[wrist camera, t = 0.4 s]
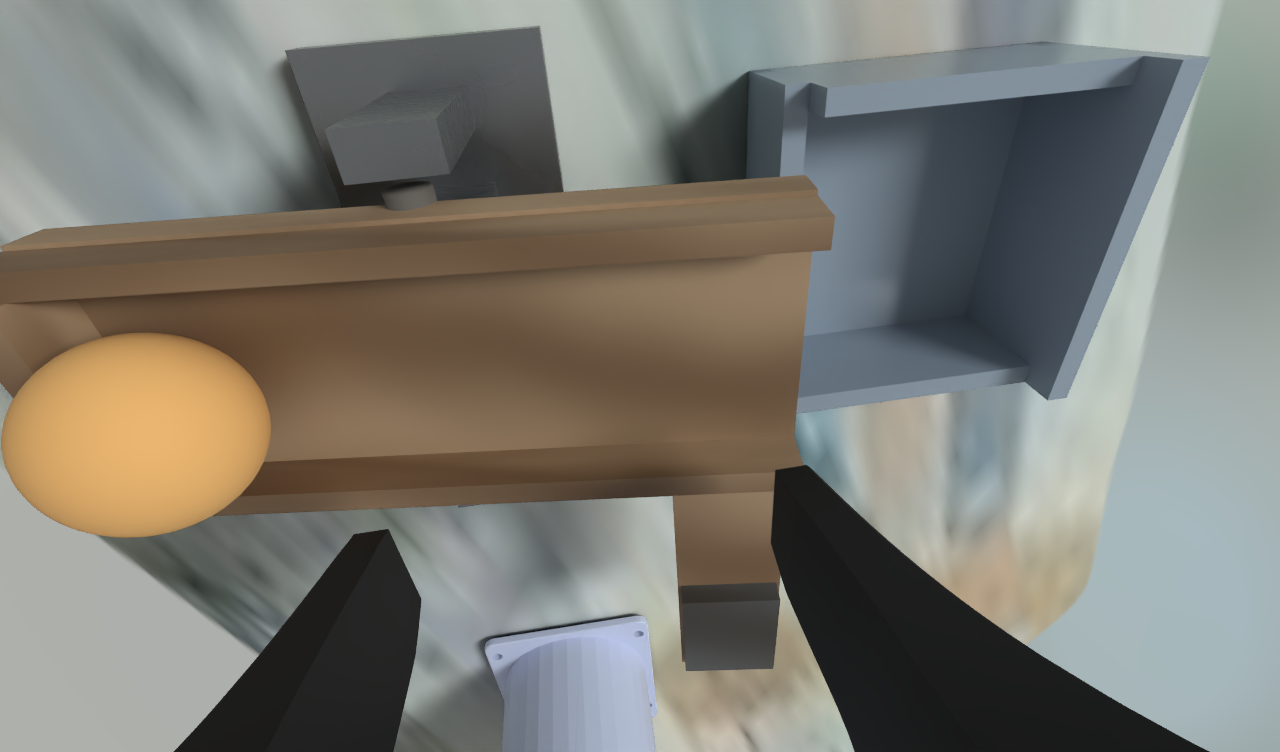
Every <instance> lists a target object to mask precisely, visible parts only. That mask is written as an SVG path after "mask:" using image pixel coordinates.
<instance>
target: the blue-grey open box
mask: <svg viewBox="0 0 1280 752" xmlns="http://www.w3.org/2000/svg"><path fill="white" fill-rule="evenodd" d="M1209 58H1210V57H1204V56H1193V55H1182V54H1171V53H1160V52H1150V51H1139V50H1128V49H1117V48H1106V47H1095V46H1085V45H1074V44H1063V43H1052V42H1036V43H1026V44H1016V45H1006V46H996V47H986V48H975V49H965V50H955V51H945V52H935V53H925V54H915V55H905V56H895V57H885V58H875V59H865V60H855V61H845V62H835V63H825V64H815V65H804V66H794V67H784V68H774V69H764V70H754V71H749V84H748V120H747V155H746V179H755V178H769V177H783V176H797V175H806V176H807V177H808V178H809V179H810V180H811V182H812V183H813V184H814V185H815V186H816V187H817V189H818V196H819V197H820V198H821V200H822V201H823V202H824V203H825V205H826V206H827V207H828V208H829V209H830V211H831V212H832V213H833V214H834V216H835V222H834V231H833V239H832V248H831V250H829V251H813V252H812V258H811V269H810V279H809V289H808V299H807V309H806V319H805V330H804V340H803V350H802V360H801V370H800V380H799V391H798V401H797V411H796V414H798V413H805V412H813V411H820V410H827V409H834V408H841V407H848V406H855V405H863V404H870V403H877V402H884V401H891V400H898V399H906V398H913V397H920V396H927V395H934V394H941V393H949V392H956V391H963V390H970V389H977V388H984V387H991V386H999V385H1006V384H1013V383H1020V382H1026V383H1027V384H1028V385H1029V386H1031V387H1032V388H1033V389H1034V390H1036V391H1037V392H1038V393H1039V394H1040V395H1042V396H1043V397H1044V398H1045V399H1047V400H1054V399H1061V398H1067V395H1068V393H1069V390H1070V388H1071V386H1072V383H1073V381H1074V379H1075V376H1076V374H1077V371H1078V369H1079V367H1080V364H1081V362H1082V360H1083V357H1084V355H1085V352H1086V350H1087V348H1088V345H1089V343H1090V341H1091V338H1092V336H1093V333H1094V331H1095V329H1096V326H1097V324H1098V322H1099V319H1100V317H1101V314H1102V312H1103V310H1104V307H1105V305H1106V303H1107V300H1108V298H1109V295H1110V293H1111V291H1112V288H1113V286H1114V283H1115V281H1116V279H1117V276H1118V274H1119V272H1120V269H1121V267H1122V264H1123V262H1124V260H1125V257H1126V255H1127V253H1128V250H1129V248H1130V245H1131V243H1132V241H1133V238H1134V236H1135V234H1136V231H1137V229H1138V226H1139V224H1140V222H1141V219H1142V217H1143V215H1144V212H1145V210H1146V207H1147V205H1148V203H1149V200H1150V198H1151V196H1152V193H1153V191H1154V188H1155V186H1156V184H1157V181H1158V179H1159V176H1160V174H1161V172H1162V169H1163V167H1164V165H1165V162H1166V160H1167V157H1168V155H1169V153H1170V150H1171V148H1172V146H1173V143H1174V141H1175V138H1176V136H1177V134H1178V131H1179V129H1180V127H1181V124H1182V122H1183V119H1184V117H1185V115H1186V112H1187V110H1188V108H1189V105H1190V103H1191V100H1192V98H1193V96H1194V93H1195V91H1196V89H1197V86H1198V84H1199V81H1200V79H1201V77H1202V74H1203V72H1204V70H1205V67H1206V65H1207V62H1208V60H1209Z"/></svg>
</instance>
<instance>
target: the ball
mask: <svg viewBox="0 0 1280 752" xmlns="http://www.w3.org/2000/svg"><path fill="white" fill-rule="evenodd" d="M270 437H271V420H270V413H269V410H268V406H267V403H266V399H265V397H264V395H263V393H262V391H261V389H260V388H259V386H258V385H257V383H256V382H255V380H254V379H253V378H252V376H251V375H250V374H249V373H248V372H247V371H246V370H245V369H244V368H243V367H242V366H241V365H240V364H239V363H238V362H236V361H235V360H234V359H232V358H231V357H230V356H228V355H227V354H225V353H223V352H222V351H220V350H218V349H216V348H214V347H212V346H210V345H207V344H205V343H202V342H200V341H196V340H193V339H190V338H186V337H183V336H178V335H172V334H163V333H151V332H142V333H125V334H118V335H112V336H108V337H103V338H99V339H96V340H92V341H89V342H86V343H84V344H81V345H78V346H76V347H74V348H72V349H70V350H67V351H66V352H64V353H62V354H60V355H58V356H56V357H55V358H53V359H52V360H50V361H49V362H48V363H46V364H45V365H44V366H43V367H41V368H40V369H39V370H37V371H36V372H35V373H34V374H33V375H32V376H31V377H30V378H29V379H28V380H27V381H26V382H25V384H24V385H23V386H22V387H21V388H20V390H19V391H18V393H17V394H16V396H15V397H14V399H13V401H12V403H11V405H10V407H9V409H8V411H7V414H6V417H5V420H4V424H3V430H2V439H1V443H2V453H3V459H4V463H5V467H6V469H7V471H8V473H9V475H10V477H11V480H12V482H13V483H14V485H15V487H16V488H17V490H18V491H19V492H20V493H21V494H22V495H23V497H24V498H26V500H27V501H28V502H29V503H31V505H32V506H34V507H35V508H36V509H37V510H39V511H40V512H41V513H43V514H44V515H46V516H47V517H49V518H51V519H53V520H54V521H56V522H58V523H60V524H63V525H65V526H68V527H70V528H73V529H76V530H79V531H83V532H86V533H91V534H96V535H101V536H108V537H120V538H123V537H147V536H154V535H160V534H165V533H170V532H174V531H177V530H180V529H183V528H186V527H189V526H192V525H194V524H196V523H199V522H201V521H203V520H205V519H207V518H209V517H211V516H213V515H214V514H216V513H217V512H219V511H221V510H222V509H224V508H225V507H226V506H228V505H229V504H230V503H231V502H233V501H234V500H235V499H236V498H237V497H238V496H240V495H241V494H242V493H243V491H244V490H245V489H246V488H247V487H248V486H249V485H250V483H251V482H252V481H253V480H254V478H255V477H256V475H257V473H258V472H259V470H260V468H261V466H262V464H263V462H264V460H265V457H266V455H267V451H268V448H269V443H270Z"/></svg>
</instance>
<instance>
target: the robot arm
mask: <svg viewBox="0 0 1280 752" xmlns="http://www.w3.org/2000/svg"><path fill="white" fill-rule="evenodd" d="M771 546H772V549H773V552H774V555H775V559H776V562H777V565H778V568H779V572H780V575H781V578H782V581H783V584H784V587H785V590H786V593H787V595H788V598H789V600H790V602H791V605H792V607H793V609H794V611H795V614H796V616H797V618H798V620H799V623H800V625H801V627H802V629H803V632H804V634H805V636H806V638H807V641H808V643H809V645H810V647H811V649H812V652H813V654H814V656H815V658H816V661H817V663H818V665H819V667H820V669H821V672H822V674H823V676H824V678H825V681H826V683H827V685H828V687H829V689H830V692H831V694H832V696H833V698H834V701H835V703H836V705H837V707H838V710H839V712H840V714H841V717H842V719H843V722H844V724H845V727H846V729H847V732H848V734H849V737H850V740H851V742H852V745H853V748H854V751H855V752H1209V751H1207V750H1205V749H1203V748H1201V747H1199V746H1197V745H1195V744H1193V743H1191V742H1189V741H1187V740H1186V739H1184V738H1182V737H1180V736H1178V735H1176V734H1175V733H1173V732H1171V731H1169V730H1167V729H1166V728H1164V727H1162V726H1160V725H1158V724H1156V723H1154V722H1153V721H1151V720H1149V719H1147V718H1145V717H1144V716H1142V715H1140V714H1138V713H1136V712H1135V711H1133V710H1131V709H1129V708H1127V707H1126V706H1123V705H1122V704H1120V703H1119V702H1117V701H1115V700H1114V699H1112V698H1110V697H1108V696H1107V695H1105V694H1103V693H1102V692H1100V691H1098V690H1097V689H1095V688H1094V687H1092V686H1090V685H1089V684H1087V683H1085V682H1084V681H1082V680H1080V679H1079V678H1077V677H1076V676H1074V675H1072V674H1070V673H1069V672H1067V671H1066V670H1064V669H1062V668H1061V667H1059V666H1058V665H1056V664H1054V663H1053V662H1051V661H1049V660H1048V659H1046V658H1044V657H1043V656H1041V655H1040V654H1038V653H1036V652H1035V651H1034V650H1032V649H1030V648H1029V647H1028V646H1026V645H1025V644H1023V643H1022V642H1020V641H1019V640H1017V639H1015V638H1014V637H1012V636H1011V635H1009V634H1008V633H1007V632H1005V631H1004V630H1002V629H1001V628H999V627H998V626H997V625H995V624H994V623H992V622H991V621H990V620H988V619H987V618H985V617H984V616H982V615H981V614H980V613H978V612H977V611H975V610H974V609H973V608H971V607H970V606H969V605H967V604H966V603H965V602H963V601H962V600H961V599H959V598H958V597H957V596H955V595H954V594H953V593H951V592H950V591H949V590H948V589H946V588H945V587H944V586H943V585H941V584H940V583H939V582H937V581H936V580H935V579H934V578H932V577H931V576H930V575H929V574H927V573H926V572H925V571H924V570H922V569H921V568H920V567H919V566H918V565H916V564H915V563H914V562H913V561H912V560H910V559H909V558H908V557H907V556H906V555H904V554H903V553H902V552H901V551H900V550H899V549H897V548H896V547H895V546H894V545H893V544H892V543H891V542H889V541H888V540H887V539H886V538H885V537H884V536H883V535H881V534H880V533H879V532H878V531H877V530H876V529H875V528H873V527H872V526H871V525H870V524H869V523H868V522H867V521H866V520H865V519H864V518H862V517H861V516H860V515H859V514H858V513H857V512H856V511H855V510H854V509H853V508H852V507H851V506H850V505H849V504H848V503H846V502H845V501H844V500H843V499H842V498H841V497H840V496H839V495H838V494H837V493H836V492H835V491H834V490H833V489H832V488H831V487H830V486H829V485H828V484H827V483H826V482H825V481H824V480H823V479H822V478H820V477H819V476H818V475H817V474H816V473H815V472H814V471H813V470H812V469H811V468H810V467H809V466H807V465H803V466H797V467H790V468H784V469H777V470H775V481H774V497H773V513H772V529H771ZM420 608H421V597H420V595H419V593H418V591H417V589H416V587H415V585H414V583H413V581H412V578H411V576H410V574H409V572H408V570H407V568H406V566H405V564H404V561H403V559H402V557H401V555H400V553H399V551H398V549H397V547H396V545H395V542H394V540H393V538H392V536H391V534H390V532H389V530H388V529H386V530H379V531H373V532H366V533H360V534H354V535H353V536H352V538H351V539H350V540H349V542H348V543H347V544H346V545H345V547H344V548H343V549H342V550H341V552H340V553H339V554H338V555H337V557H336V558H335V559H334V561H333V562H332V563H331V564H330V566H329V567H328V568H327V570H326V571H325V572H324V574H323V575H322V576H321V578H320V579H319V580H318V581H317V583H316V584H315V585H314V587H313V588H312V589H311V591H310V592H309V593H308V594H307V596H306V597H305V598H304V600H303V601H302V602H301V603H300V605H299V606H298V607H297V609H296V610H295V611H294V612H293V614H292V615H291V616H290V617H289V619H288V620H287V621H286V622H285V624H284V625H283V626H282V627H281V629H280V630H279V631H278V632H277V634H276V635H275V636H274V637H273V639H272V640H271V641H270V642H269V644H268V645H267V646H266V647H265V649H264V650H263V651H262V652H261V654H260V655H259V656H258V657H257V658H256V660H255V661H254V662H253V663H252V664H251V666H250V667H249V668H248V669H247V670H246V671H245V673H244V674H243V675H242V676H241V677H240V679H239V680H238V681H237V682H236V683H235V684H234V685H233V687H232V688H231V689H230V690H229V691H228V693H227V694H226V695H225V696H224V697H223V698H222V700H221V701H220V702H219V703H218V704H217V705H216V706H215V708H214V709H213V710H212V711H211V712H210V713H209V714H208V716H207V717H206V718H205V719H204V720H203V721H202V722H201V723H200V724H199V725H198V726H197V728H196V729H195V730H194V731H193V732H192V733H191V734H190V735H189V736H188V737H187V738H186V739H185V740H184V742H183V743H182V744H181V745H180V746H179V747H178V748H177V749H176V750H175V751H174V752H393V751H394V746H395V742H396V738H397V734H398V729H399V725H400V721H401V717H402V712H403V708H404V704H405V699H406V695H407V691H408V686H409V682H410V678H411V673H412V669H413V664H414V659H415V654H416V646H417V638H418V630H419V619H420ZM485 654H486V656H487V659H488V661H489V664H490V666H491V669H492V672H493V674H494V677H495V679H496V682H497V684H498V687H499V689H500V692H501V694H502V697H503V699H504V702H505V706H504V721H503V736H502V751H501V752H656V745H655V738H654V731H653V723H652V717H654V716H656V714H657V704H656V696H655V687H654V678H653V669H652V660H651V651H650V642H649V633H648V625H647V620H646V618H645V617H643V616H631V617H625V618H619V619H612V620H606V621H600V622H594V623H587V624H581V625H575V626H569V627H562V628H556V629H550V630H544V631H537V632H531V633H525V634H519V635H512V636H506V637H500V638H494V639H490V640H489V641H487V642H486V644H485Z"/></svg>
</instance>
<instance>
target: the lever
mask: <svg viewBox="0 0 1280 752" xmlns="http://www.w3.org/2000/svg"><path fill="white" fill-rule="evenodd" d="M382 196H383V199H384V202H385V205H376V206H362V207H348V208H334V209H320V210H305V211H291V212H277V213H263V214H249V215H235V216H221V217H207V218H193V219H179V220H165V221H151V222H137V223H123V224H109V225H95V226H81V227H67V228H52V229H43V230H40V231H38V232H35V233H33V234H30V235H28V236H25V237H23V238H20V239H18V240H15V241H13V242H10V243H8V244H5V245H3V246H0V248H1V249H2V250H3V252H1V253H0V383H1V384H2V385H3V386H4V387H5V389H6V390H7V391H8V392H9V393H10V395H11V396H12V397H13V398H14V397H15V396H16V394H17V393H18V391H19V390H20V388H21V387H22V386H23V385H24V384H25V382H26V381H27V380H28V379H29V378H30V377H31V376H32V375H33V374H34V373H35V372H36V371H37V370H39V369H40V368H41V367H43V366H44V365H45V364H46V363H48V362H49V361H50V360H52V359H53V358H55V357H56V356H58V355H60V354H62V353H64V352H66V351H67V350H70V349H72V348H74V347H76V346H78V345H81V344H84V343H86V342H89V341H92V340H96V339H99V338H103V337H108V336H112V335H118V334H125V333H142V332H151V333H163V334H172V335H178V336H183V337H186V338H190V339H193V340H196V341H200V342H202V343H205V344H207V345H210V346H212V347H214V348H216V349H218V350H220V351H222V352H223V353H225V354H227V355H228V356H230V357H231V358H232V359H234V360H235V361H236V362H238V363H239V364H240V365H241V366H242V367H243V368H244V369H245V370H246V371H247V372H248V373H249V374H250V375H251V376H252V378H253V379H254V380H255V382H256V383H257V385H258V386H259V388H260V389H261V391H262V393H263V395H264V397H265V399H266V403H267V406H268V410H269V413H270V420H271V437H270V443H269V448H268V451H267V455H266V457H265V460H264V462H263V464H262V466H261V468H260V470H259V472H258V473H257V475H256V477H255V478H254V480H253V481H252V482H251V483H250V485H249V486H248V487H247V488H246V489H245V490H244V491H243V493H242V494H241V495H240V496H238V497H237V498H236V499H235V500H234V501H233V502H231V503H230V504H229V505H228V506H226V507H225V508H224V509H222V510H221V511H219V512H217V513H216V514H214V515H213V516H222V515H245V514H267V513H290V512H313V511H336V510H359V509H382V508H405V507H428V506H451V505H474V504H497V503H520V502H543V501H566V500H589V499H612V498H635V497H658V496H673V510H674V527H675V544H676V561H677V578H678V595H679V612H680V629H681V646H682V662H685V663H686V671H705V670H741V669H773V665H774V655H775V646H776V636H777V626H778V616H779V606H780V597H779V584H780V572H779V568H778V565H777V562H776V559H775V555H774V552H773V549H772V546H771V529H772V513H773V497H774V481H775V470H777V469H784V468H790V467H797V466H803V462H802V459H801V456H800V453H799V450H798V447H797V444H796V441H795V438H794V431H795V421H796V411H797V401H798V391H799V380H800V370H801V360H802V350H803V340H804V330H805V319H806V309H807V299H808V289H809V279H810V269H811V258H812V252H813V251H829V250H831V248H832V239H833V231H834V222H835V216H834V214H833V213H832V212H831V211H830V209H829V208H828V207H827V206H826V205H825V203H824V202H823V201H822V200H821V198H820V197H819V196H818V189H817V187H816V186H815V185H814V184H813V183H812V182H811V180H810V179H809V178H808V177H807V176H806V175H797V176H783V177H769V178H755V179H741V180H727V181H713V182H699V183H685V184H671V185H657V186H643V187H629V188H615V189H601V190H587V191H573V192H558V193H544V194H530V195H516V196H502V197H488V198H474V199H460V200H446V201H437V198H436V194H435V191H434V187H433V184H432V183H431V182H427V181H414V182H406V183H401V184H397V185H393V186H390V187H388V188H386V189H384V190H383V191H382Z"/></svg>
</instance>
